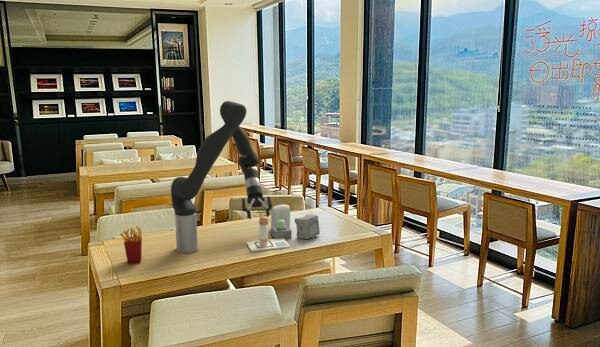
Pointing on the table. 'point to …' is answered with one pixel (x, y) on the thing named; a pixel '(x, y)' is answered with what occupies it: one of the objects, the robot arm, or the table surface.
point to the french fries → (133, 245)
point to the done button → (281, 224)
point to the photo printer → (280, 215)
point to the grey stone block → (307, 226)
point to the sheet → (272, 245)
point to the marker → (263, 230)
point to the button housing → (281, 232)
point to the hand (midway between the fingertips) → (259, 217)
